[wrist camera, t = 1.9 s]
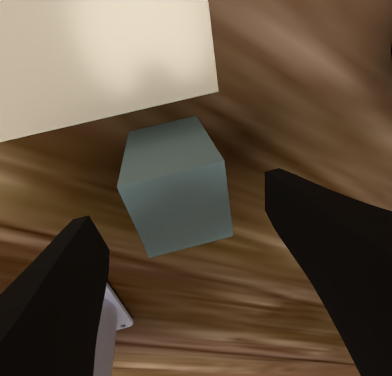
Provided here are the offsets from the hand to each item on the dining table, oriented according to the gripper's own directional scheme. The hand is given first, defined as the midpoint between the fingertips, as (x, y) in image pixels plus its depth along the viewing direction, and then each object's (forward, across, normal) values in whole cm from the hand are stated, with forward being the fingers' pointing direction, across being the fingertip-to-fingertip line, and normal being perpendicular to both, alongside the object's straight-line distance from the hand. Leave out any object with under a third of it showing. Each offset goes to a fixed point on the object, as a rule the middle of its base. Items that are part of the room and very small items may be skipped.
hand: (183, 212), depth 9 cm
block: (+6, 0, 0) cm, 6 cm away
